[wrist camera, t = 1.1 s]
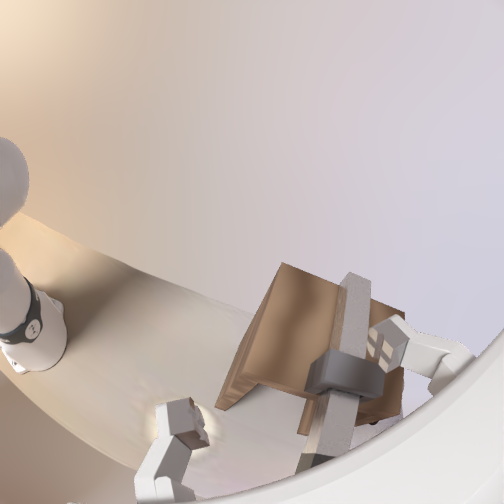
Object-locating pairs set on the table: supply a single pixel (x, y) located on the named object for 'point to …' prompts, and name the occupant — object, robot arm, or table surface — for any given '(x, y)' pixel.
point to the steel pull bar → (334, 400)
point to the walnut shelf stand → (309, 351)
